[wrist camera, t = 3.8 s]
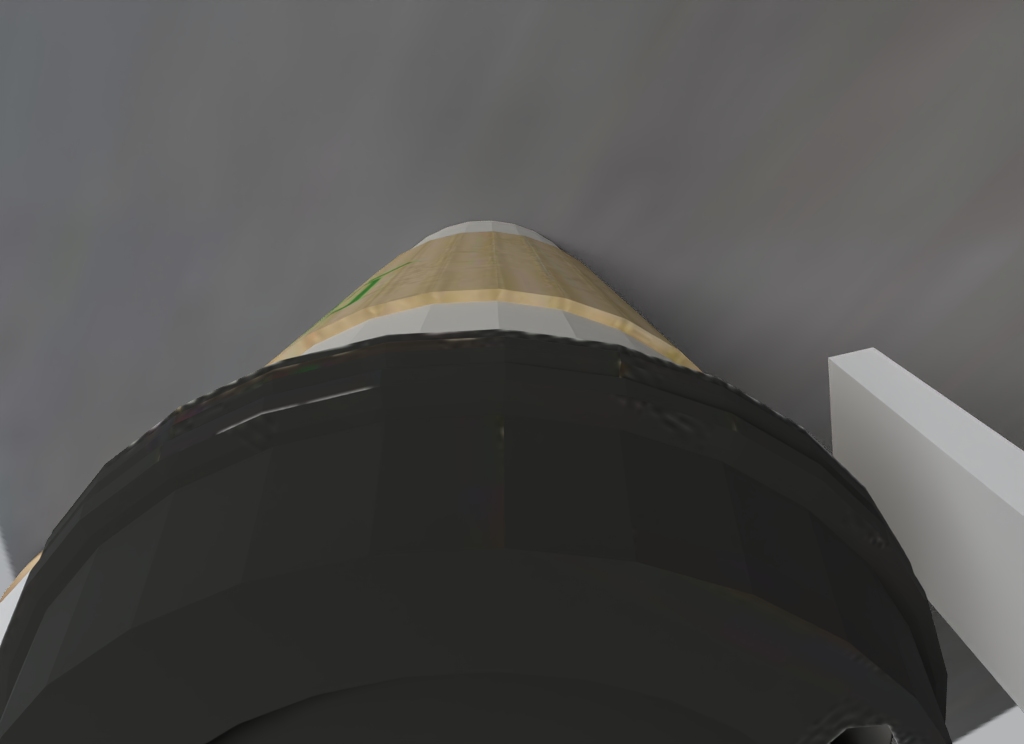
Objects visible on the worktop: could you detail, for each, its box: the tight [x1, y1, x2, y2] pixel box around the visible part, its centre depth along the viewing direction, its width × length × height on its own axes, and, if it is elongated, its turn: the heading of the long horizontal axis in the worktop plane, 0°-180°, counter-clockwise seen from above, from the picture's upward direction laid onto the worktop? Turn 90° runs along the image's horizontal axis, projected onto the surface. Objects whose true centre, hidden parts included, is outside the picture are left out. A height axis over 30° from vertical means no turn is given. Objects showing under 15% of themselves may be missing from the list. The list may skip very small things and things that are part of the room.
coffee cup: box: [0, 220, 952, 744], centre depth 13 cm, size 10×10×15 cm
